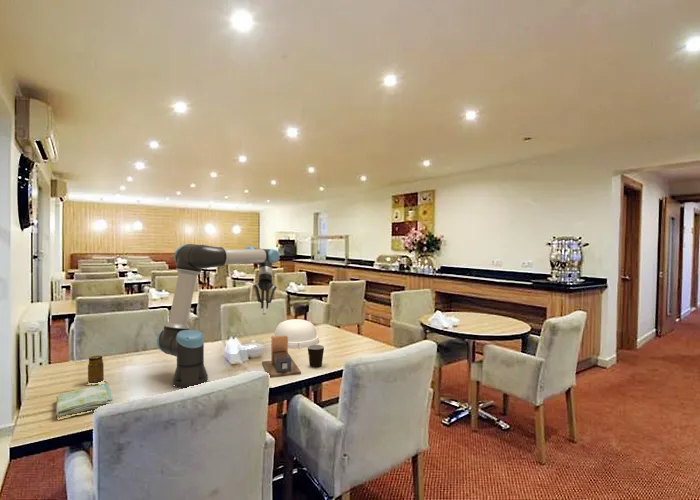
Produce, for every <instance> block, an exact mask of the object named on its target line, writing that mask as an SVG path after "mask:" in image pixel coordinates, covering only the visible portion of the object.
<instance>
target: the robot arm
mask: <svg viewBox="0 0 700 500" xmlns="http://www.w3.org/2000/svg"><path fill="white" fill-rule="evenodd" d="M173 254H174V256H173V260H174V261H175V264H176V266H175V267H176V268H175V270H176V272H177V273H178V274H177V278H176V279H177V280H176V284H175V289H174V294H173V299H172V303H171V309H170V313H169V319H168V322H167V323H165V324H164V325H163V329H162V330H161V332H159V333H158V335H157V337H156V345H157V347H158V349H159V350H160V351H161V352H163V353H164V354H166V355H170V356H174V357H176V368H175V371H174V374H173V379H172V386H173V385H175V386H177V387H176V388H178V387H181V388H180V389H186V388H185V387H189V386H194V385H198V384H201V383H204V382H206V383H207V382H208V381H207V380H209V377H208V376H209V375H208V372H207V369H206V367H205V364H204V363H205V361H204V356H205V354H204V351H205V350H204V348H205V347H204V346H205V345H204V343H205V339H204V334H203V332H201V331H200V330H197V329H191V327H190V326H189V324H188V322H189V317H190V312H191V308H192V307H191V306H192V303H193V298H194V293H195V287H196V282H197V277H198V276H199V275H200V274H201V273H202V269H203V270H204V269H208V268H209V269H210V268H216V267H219V268H220V267H223V266H225V265H235V264H236V265H237V264H238V265H240V264H241V265H242V264H256V265H258V266H259V267H258V268H259V269H258V275H259V276H258V283H257V284H254V285H253V289H254V290H255V293H256V299H257V302H258V303H260V308H261V309H262V315H264V316H265V315H266V314H267V310H268V308H269V304H271V303H272V301H273V299H274V298H273V297H274V293H275V291H276V290H277V286H274V284H273V264H275V263H278V262H279V260H280V252H279V251H278V250H277V249H273V248H255V246H252V245H248V246H246V247H245V248H224V247H222V246H213V245H207V244H194V243H188V244H183V245H180V246H179V247H178V248H177V249H176V250H175V252H174V253H173ZM259 289H260V290H259ZM270 290H272V291H271V294H270V295H269V291H270ZM260 292H261V294H260ZM175 386H174V387H175Z"/></svg>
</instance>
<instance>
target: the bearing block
mask: <svg viewBox="0 0 700 500" xmlns="http://www.w3.org/2000/svg"><path fill="white" fill-rule="evenodd" d="M291 359H292V357H291V355H290V353H289V352H280V353H274V368H275V370H276V372H277V373H281V372H290V371H291ZM281 362H287V368H286V369H282V367H281Z"/></svg>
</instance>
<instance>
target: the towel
mask: <svg viewBox="0 0 700 500" xmlns="http://www.w3.org/2000/svg"><path fill="white" fill-rule="evenodd" d="M112 401H113V396H112V392H111V389H110V386H109V382H107V383H106V384H101V385H92V386H90V387H89V386H88V387H86V388H81V389H76V390H72V391H68V392H64V393H60V394H58V395H56V408H55V409H56V410H55V412H56V413H55V416H56V415H57V418H58V417H59V418H60V417H62V416H66V415H72V414H77V413H81V412H87V411H91V410H92V411H94V410H95V409H97V408H98V407H100V406H103V405H106V404H111V405H112V403H111V402H112ZM57 418H56V419H57Z"/></svg>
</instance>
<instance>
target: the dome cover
mask: <svg viewBox="0 0 700 500" xmlns="http://www.w3.org/2000/svg"><path fill="white" fill-rule="evenodd" d="M275 328H276V329H275V331H274V335H273V336H272V337H275V336H287V337H288V349H299V350H300V349H305V348H308V346H310V345H319V342H320V337H319V335H318V333H317V330H316V327H315V325H314V324H313V323H312V322H311V321H309V320H306V319H301V318H293V319H291V318H290V319H287V320H284V321H282V322H279V324H278V325H277V326H276V327H275Z"/></svg>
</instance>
